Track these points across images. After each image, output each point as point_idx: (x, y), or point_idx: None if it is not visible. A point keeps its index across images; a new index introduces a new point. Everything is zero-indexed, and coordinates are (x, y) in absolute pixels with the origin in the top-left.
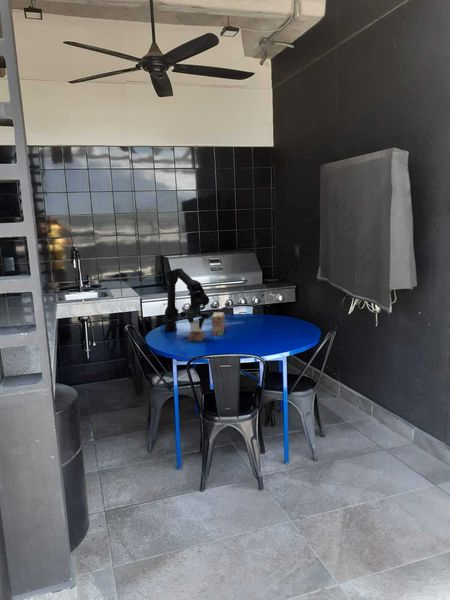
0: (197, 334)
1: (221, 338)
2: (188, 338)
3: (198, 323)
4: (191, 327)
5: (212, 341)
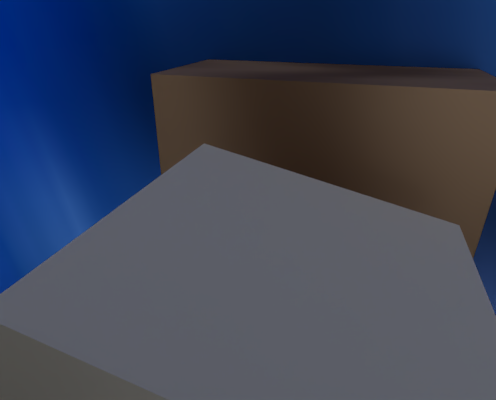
0: (247, 106)
1: (5, 195)
2: (491, 76)
3: (16, 353)
4: (442, 284)
5: (35, 37)
